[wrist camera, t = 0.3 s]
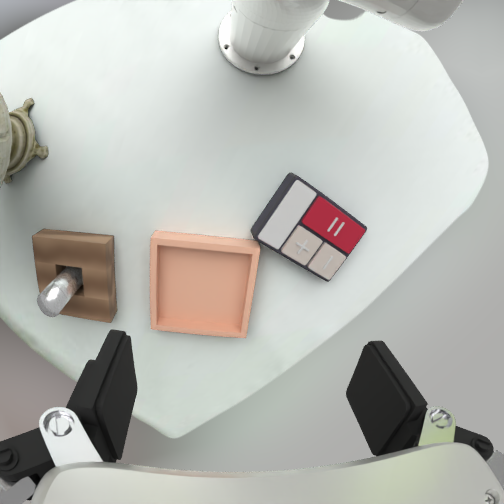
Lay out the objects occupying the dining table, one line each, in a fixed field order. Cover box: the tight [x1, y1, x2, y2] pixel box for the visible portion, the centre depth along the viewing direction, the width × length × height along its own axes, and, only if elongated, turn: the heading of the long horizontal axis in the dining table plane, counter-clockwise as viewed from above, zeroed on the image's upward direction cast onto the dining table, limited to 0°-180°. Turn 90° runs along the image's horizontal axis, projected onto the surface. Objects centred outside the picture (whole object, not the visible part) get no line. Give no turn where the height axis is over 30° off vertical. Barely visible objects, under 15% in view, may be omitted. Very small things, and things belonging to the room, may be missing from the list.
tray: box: [150, 231, 261, 338], centre depth 48 cm, size 16×16×4 cm
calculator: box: [251, 173, 367, 281], centre depth 46 cm, size 11×4×15 cm
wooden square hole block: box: [32, 229, 117, 323], centre depth 45 cm, size 14×14×4 cm
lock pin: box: [37, 266, 83, 317], centre depth 41 cm, size 4×4×12 cm
